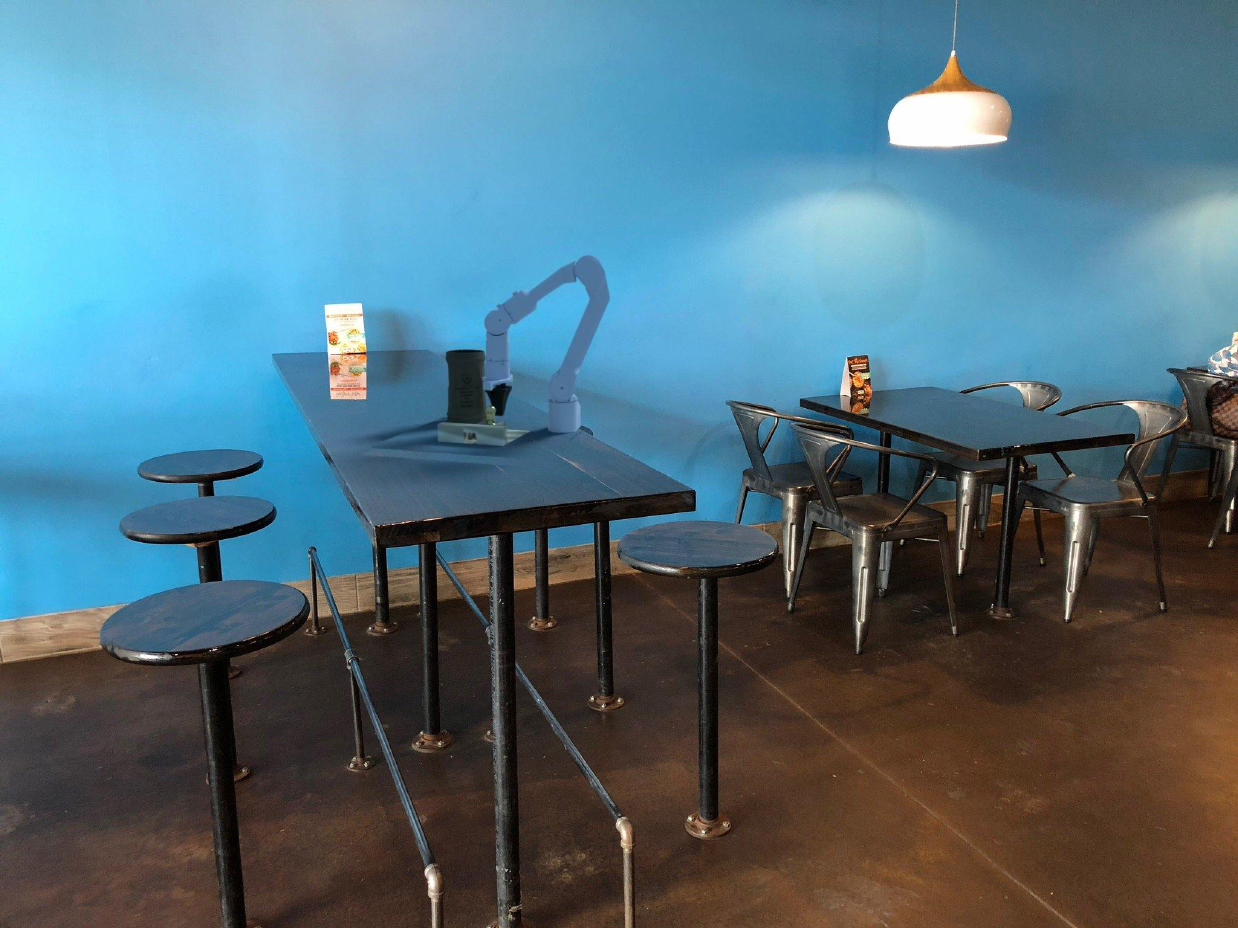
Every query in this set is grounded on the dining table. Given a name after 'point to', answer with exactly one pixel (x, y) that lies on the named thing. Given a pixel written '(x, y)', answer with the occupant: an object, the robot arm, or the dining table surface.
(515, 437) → the door board
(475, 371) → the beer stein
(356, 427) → the dining table surface
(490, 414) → the bolt
